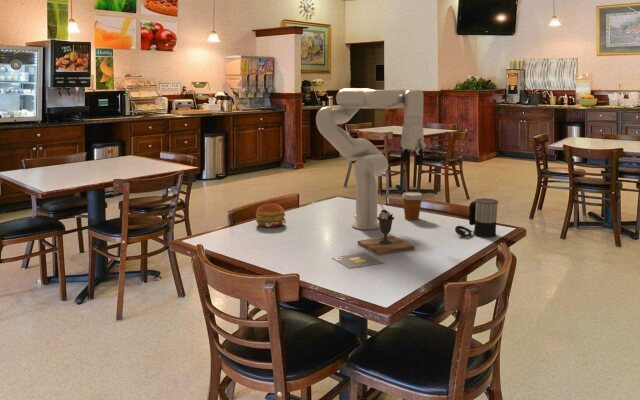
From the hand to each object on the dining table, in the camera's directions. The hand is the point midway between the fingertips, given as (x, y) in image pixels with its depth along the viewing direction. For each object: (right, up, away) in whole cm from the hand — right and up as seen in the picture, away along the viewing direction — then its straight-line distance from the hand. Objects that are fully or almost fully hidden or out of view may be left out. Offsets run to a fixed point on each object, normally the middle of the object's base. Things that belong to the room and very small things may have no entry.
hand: (412, 163), depth 236 cm
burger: (-60, -27, +24) cm, 70 cm away
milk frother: (+27, -30, +4) cm, 41 cm away
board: (-12, -33, -11) cm, 37 cm away
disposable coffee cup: (+5, -24, +33) cm, 41 cm away
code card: (-24, -37, -28) cm, 52 cm away
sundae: (-12, -32, -11) cm, 36 cm away
